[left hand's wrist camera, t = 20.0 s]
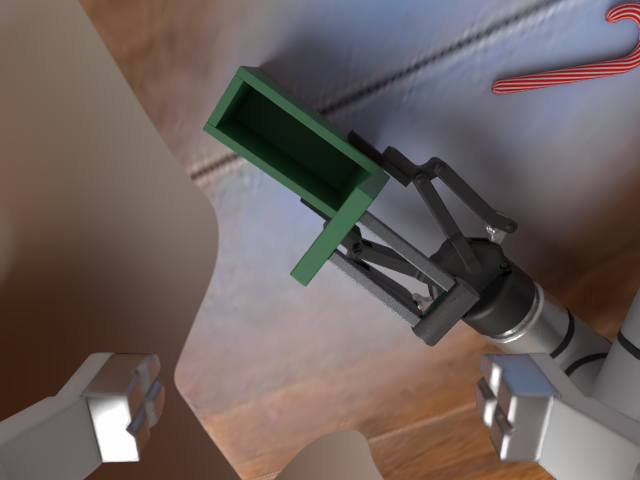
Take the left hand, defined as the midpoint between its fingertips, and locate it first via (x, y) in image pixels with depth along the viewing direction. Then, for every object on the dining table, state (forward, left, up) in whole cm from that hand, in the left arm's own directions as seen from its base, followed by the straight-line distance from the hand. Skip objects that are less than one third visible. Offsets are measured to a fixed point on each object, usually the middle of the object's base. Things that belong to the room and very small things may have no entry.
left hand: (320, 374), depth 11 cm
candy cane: (-24, -8, -35) cm, 43 cm away
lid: (-2, +1, -18) cm, 19 cm away
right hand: (-1, 0, -29) cm, 29 cm away
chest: (+2, -2, -35) cm, 35 cm away
